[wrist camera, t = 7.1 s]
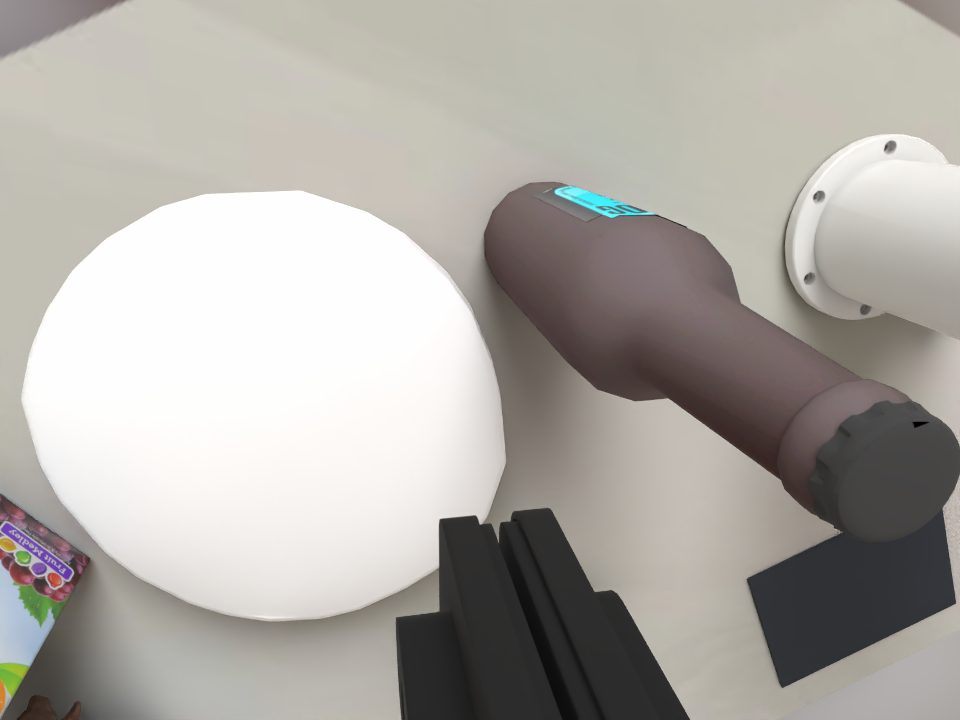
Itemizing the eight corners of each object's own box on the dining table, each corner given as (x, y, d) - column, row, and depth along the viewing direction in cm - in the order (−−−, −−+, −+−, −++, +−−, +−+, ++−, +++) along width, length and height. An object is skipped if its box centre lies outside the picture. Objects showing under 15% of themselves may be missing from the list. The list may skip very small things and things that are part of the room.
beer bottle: (619, 230, 43) (1110, 446, 15) (543, 319, 44) (871, 669, 17) (535, 153, 40) (949, 246, 13) (457, 250, 41) (678, 530, 14)
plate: (-111, 407, 34) (290, 74, 32) (-34, 371, 40) (306, 90, 38) (268, 727, 42) (605, 475, 40) (284, 656, 48) (576, 435, 46)
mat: (936, 487, 56) (939, 489, 56) (953, 601, 62) (956, 603, 61) (746, 578, 56) (748, 581, 56) (780, 685, 61) (782, 688, 61)
